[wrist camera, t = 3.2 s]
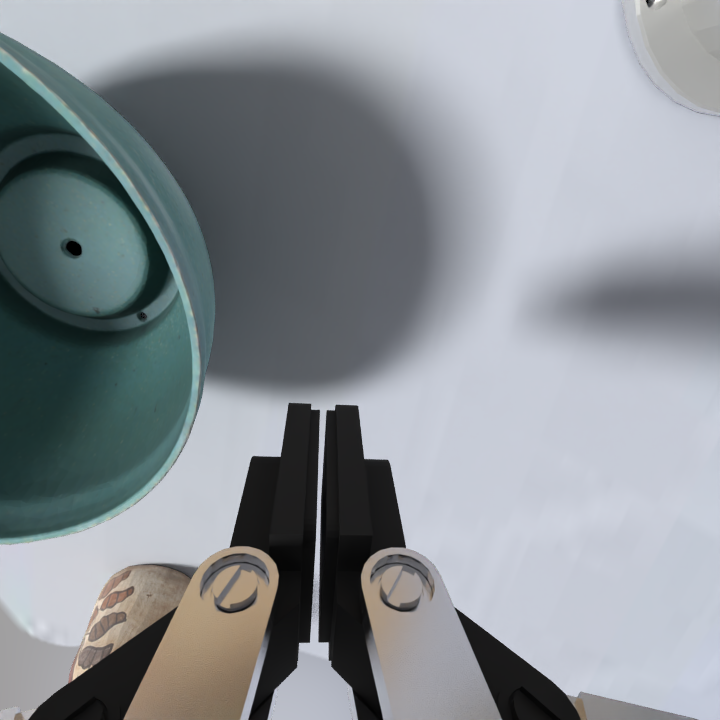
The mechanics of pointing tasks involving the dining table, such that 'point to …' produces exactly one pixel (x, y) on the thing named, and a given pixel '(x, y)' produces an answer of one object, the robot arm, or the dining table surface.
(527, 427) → the dining table surface
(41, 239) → the flower pot
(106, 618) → the figurine
